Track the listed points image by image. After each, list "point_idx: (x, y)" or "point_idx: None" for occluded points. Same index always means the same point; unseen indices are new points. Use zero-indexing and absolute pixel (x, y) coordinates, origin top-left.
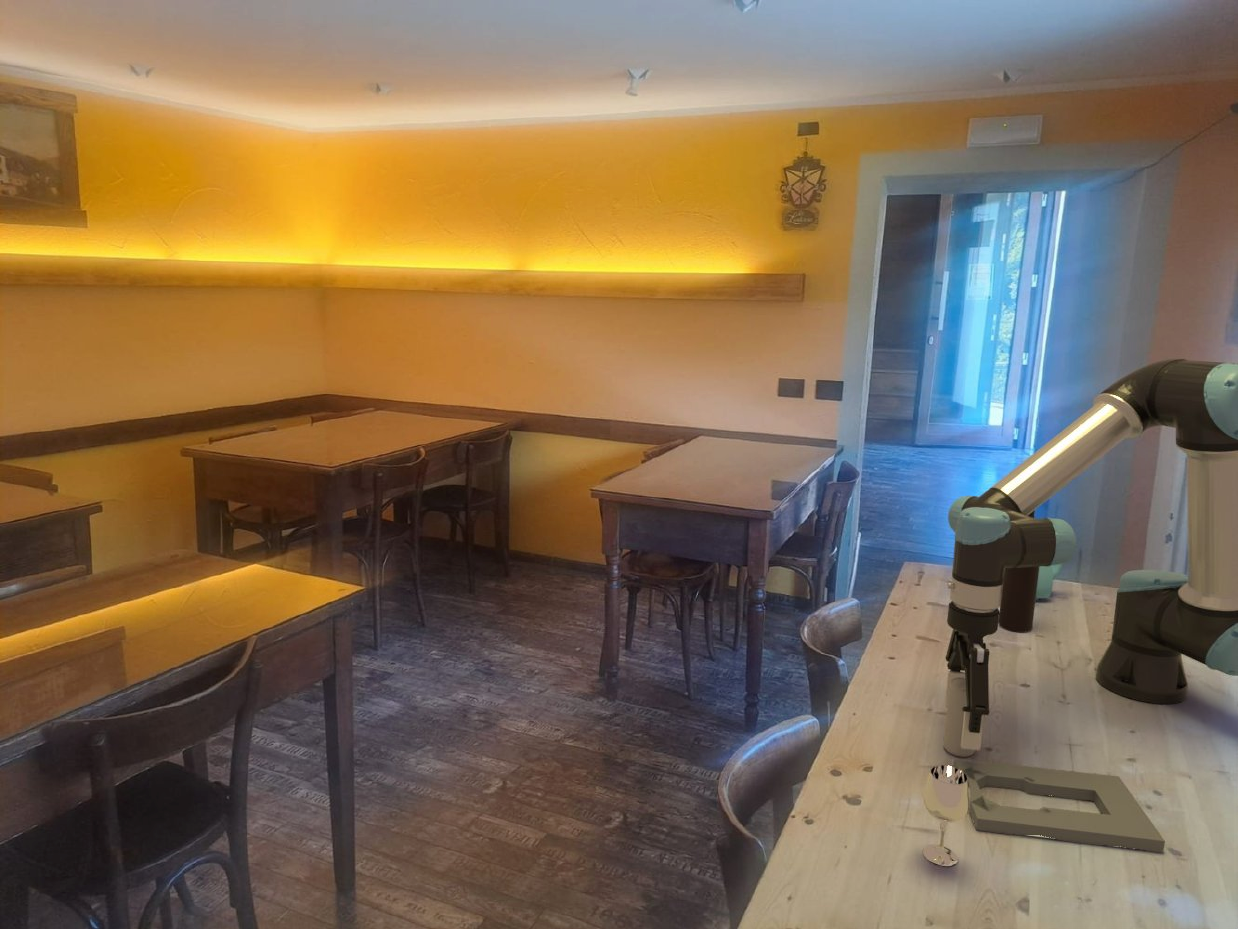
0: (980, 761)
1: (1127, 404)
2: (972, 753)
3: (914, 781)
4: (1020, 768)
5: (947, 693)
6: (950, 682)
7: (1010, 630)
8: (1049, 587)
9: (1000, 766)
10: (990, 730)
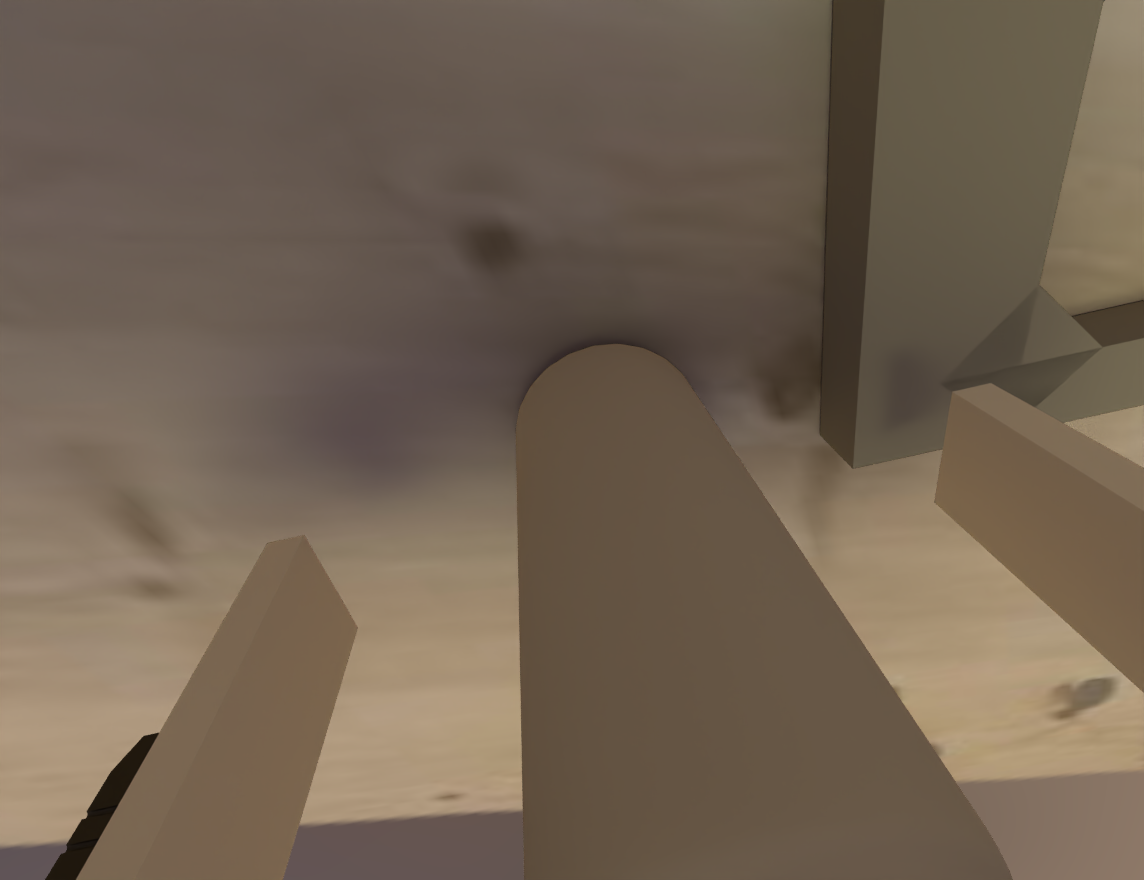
0: (865, 326)
1: None
2: (662, 357)
3: (956, 565)
4: (934, 7)
5: (319, 739)
6: (270, 866)
7: None
8: None
9: (916, 187)
10: (166, 228)
